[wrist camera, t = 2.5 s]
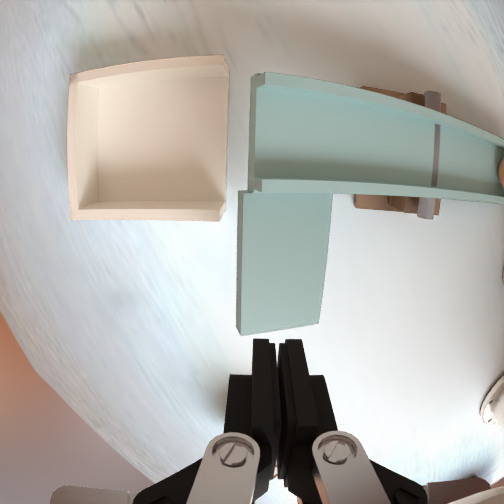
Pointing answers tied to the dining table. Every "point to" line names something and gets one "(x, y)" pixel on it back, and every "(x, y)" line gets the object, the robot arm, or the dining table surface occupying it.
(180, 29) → the dining table surface
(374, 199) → the fulcrum
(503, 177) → the ball
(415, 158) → the lever
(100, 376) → the dining table surface
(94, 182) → the tray
